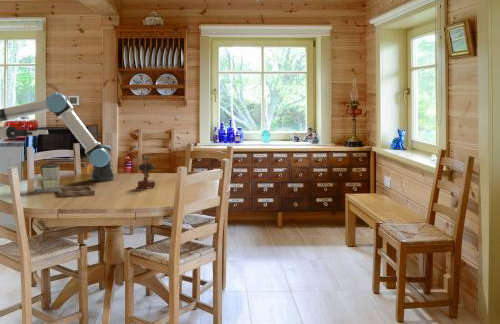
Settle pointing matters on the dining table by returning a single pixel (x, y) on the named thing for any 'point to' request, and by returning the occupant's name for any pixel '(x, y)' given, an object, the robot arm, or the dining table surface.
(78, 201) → the dining table surface
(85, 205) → the dining table surface
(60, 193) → the square wooden tray
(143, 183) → the bird automaton toy
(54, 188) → the coffee can
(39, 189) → the slate mat
